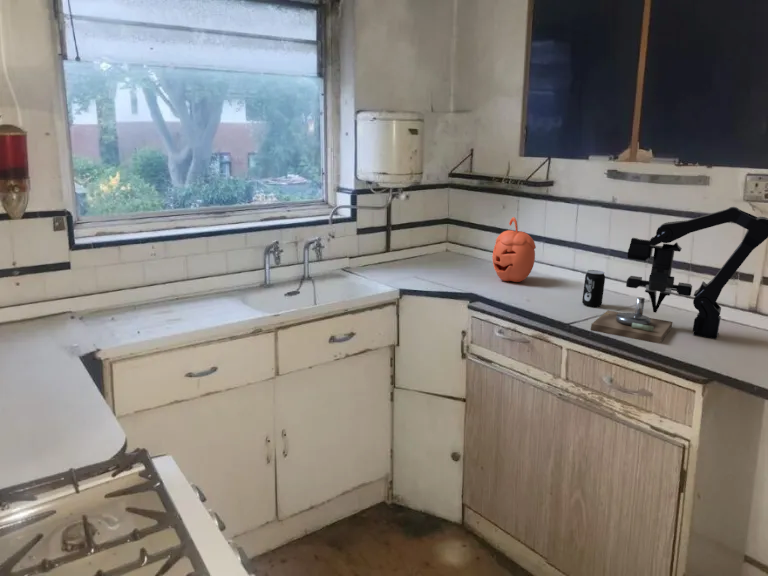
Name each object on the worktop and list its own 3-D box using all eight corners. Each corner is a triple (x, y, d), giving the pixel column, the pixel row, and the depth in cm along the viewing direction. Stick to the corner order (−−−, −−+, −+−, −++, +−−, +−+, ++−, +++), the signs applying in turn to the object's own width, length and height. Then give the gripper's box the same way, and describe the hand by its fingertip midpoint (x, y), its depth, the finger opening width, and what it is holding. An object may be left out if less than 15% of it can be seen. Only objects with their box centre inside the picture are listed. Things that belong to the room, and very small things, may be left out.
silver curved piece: (646, 328, 203) (649, 309, 201) (612, 322, 208) (614, 303, 206) (655, 318, 215) (658, 300, 213) (623, 312, 220) (625, 294, 218)
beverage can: (602, 308, 233) (606, 274, 230) (582, 306, 234) (586, 272, 231) (600, 303, 239) (604, 270, 236) (581, 302, 240) (585, 269, 237)
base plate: (671, 327, 213) (673, 316, 213) (659, 343, 197) (661, 331, 196) (607, 316, 223) (608, 305, 222) (590, 330, 207) (592, 318, 206)
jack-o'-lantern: (480, 277, 271) (485, 215, 265) (511, 274, 281) (517, 214, 275) (512, 287, 257) (518, 222, 251) (544, 283, 266) (551, 220, 260)
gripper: (627, 263, 206) (620, 312, 210) (693, 272, 199) (685, 323, 202) (632, 258, 216) (625, 305, 220) (695, 266, 208) (687, 315, 212)
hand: (654, 312), depth 213 cm, fingers closed
